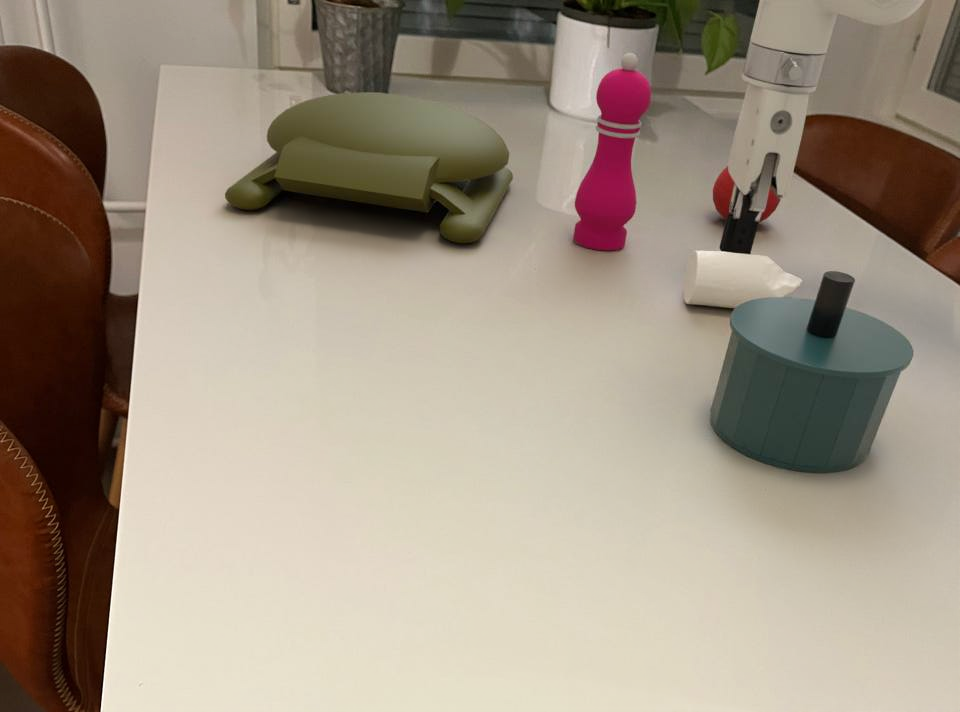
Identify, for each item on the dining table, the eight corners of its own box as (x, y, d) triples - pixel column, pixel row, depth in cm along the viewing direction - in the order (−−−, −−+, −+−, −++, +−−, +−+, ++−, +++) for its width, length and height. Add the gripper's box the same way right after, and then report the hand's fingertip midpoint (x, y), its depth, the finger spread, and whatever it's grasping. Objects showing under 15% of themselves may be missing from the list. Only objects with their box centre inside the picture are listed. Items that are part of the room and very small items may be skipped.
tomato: (700, 224, 128) (716, 158, 123) (712, 206, 135) (727, 143, 130) (767, 237, 126) (786, 171, 121) (776, 219, 133) (794, 156, 128)
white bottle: (799, 324, 104) (815, 272, 101) (687, 312, 104) (700, 259, 101) (787, 303, 109) (803, 252, 105) (681, 291, 109) (692, 239, 105)
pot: (843, 402, 91) (876, 313, 85) (888, 479, 80) (928, 383, 75) (698, 389, 90) (722, 297, 85) (725, 464, 80) (753, 366, 74)
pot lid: (877, 318, 86) (901, 253, 82) (934, 394, 75) (964, 323, 71) (713, 302, 85) (730, 235, 82) (746, 376, 74) (767, 303, 71)
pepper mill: (619, 233, 122) (652, 48, 109) (635, 253, 117) (673, 62, 104) (563, 230, 121) (590, 43, 108) (577, 251, 116) (607, 57, 103)
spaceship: (478, 251, 112) (486, 159, 106) (218, 211, 114) (212, 118, 108) (520, 171, 139) (529, 94, 133) (309, 140, 141) (308, 62, 135)
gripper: (838, 88, 93) (781, 282, 104) (801, 57, 104) (753, 235, 116) (760, 79, 92) (711, 274, 104) (732, 49, 104) (691, 228, 116)
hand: (733, 253), depth 110 cm, fingers closed
